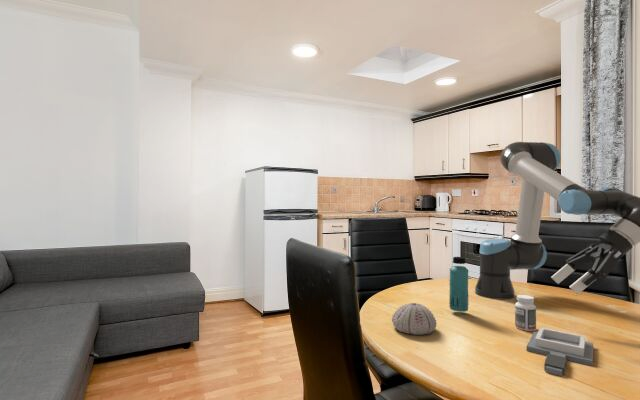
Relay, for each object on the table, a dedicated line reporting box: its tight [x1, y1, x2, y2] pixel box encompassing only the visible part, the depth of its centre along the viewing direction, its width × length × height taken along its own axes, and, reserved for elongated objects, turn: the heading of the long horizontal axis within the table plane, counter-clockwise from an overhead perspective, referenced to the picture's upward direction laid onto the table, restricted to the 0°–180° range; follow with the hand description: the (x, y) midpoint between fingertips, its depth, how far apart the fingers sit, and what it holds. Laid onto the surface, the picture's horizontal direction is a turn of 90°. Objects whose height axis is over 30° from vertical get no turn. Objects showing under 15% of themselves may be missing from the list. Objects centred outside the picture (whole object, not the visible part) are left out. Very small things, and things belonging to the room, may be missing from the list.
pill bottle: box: [514, 294, 537, 332], centre depth 112 cm, size 6×6×10 cm
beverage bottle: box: [448, 256, 470, 313], centre depth 127 cm, size 6×7×20 cm
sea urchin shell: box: [391, 302, 437, 336], centre depth 111 cm, size 13×14×8 cm
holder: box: [526, 326, 594, 377], centre depth 92 cm, size 14×25×3 cm, turn 142°
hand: (563, 285), depth 110 cm, fingers open, 13 cm apart
